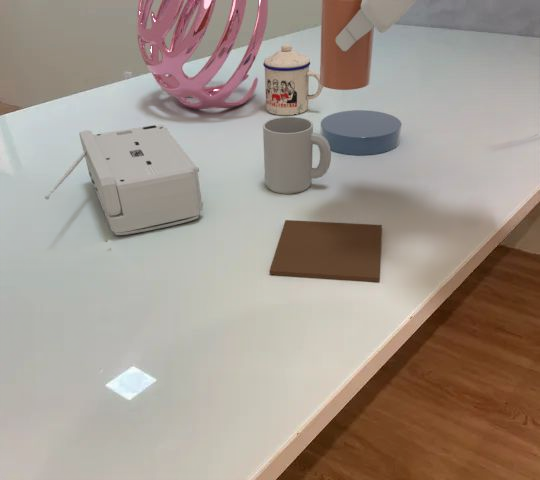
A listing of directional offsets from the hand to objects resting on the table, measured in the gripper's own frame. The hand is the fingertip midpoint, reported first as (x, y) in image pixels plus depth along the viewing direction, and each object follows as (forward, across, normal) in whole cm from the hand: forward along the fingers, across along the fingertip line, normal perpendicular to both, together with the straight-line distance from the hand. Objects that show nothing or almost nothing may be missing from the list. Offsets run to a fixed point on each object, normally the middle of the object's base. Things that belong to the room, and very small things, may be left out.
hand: (341, 37), depth 65 cm
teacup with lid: (+24, +44, -7) cm, 50 cm away
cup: (+20, +8, -11) cm, 24 cm away
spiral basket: (+37, +47, +6) cm, 60 cm away
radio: (+28, +4, +3) cm, 29 cm away
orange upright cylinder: (+3, 0, -4) cm, 5 cm away
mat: (+15, -11, -16) cm, 24 cm away
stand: (+14, +28, -17) cm, 35 cm away
